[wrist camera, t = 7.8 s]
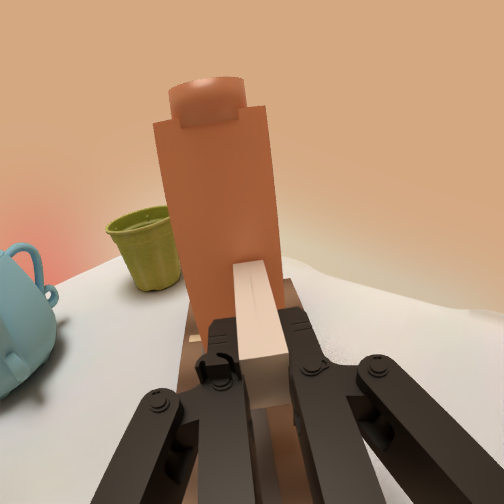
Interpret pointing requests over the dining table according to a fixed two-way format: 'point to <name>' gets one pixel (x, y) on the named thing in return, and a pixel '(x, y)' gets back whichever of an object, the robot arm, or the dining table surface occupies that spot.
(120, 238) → the plant pot
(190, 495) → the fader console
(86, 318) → the dining table surface
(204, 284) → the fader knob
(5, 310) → the decorative pot
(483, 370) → the dining table surface
